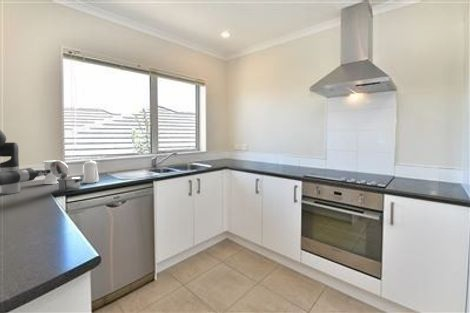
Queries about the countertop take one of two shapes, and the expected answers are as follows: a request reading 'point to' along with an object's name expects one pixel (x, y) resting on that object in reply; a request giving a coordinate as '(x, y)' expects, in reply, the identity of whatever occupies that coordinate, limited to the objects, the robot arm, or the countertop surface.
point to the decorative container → (50, 176)
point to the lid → (59, 169)
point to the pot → (69, 183)
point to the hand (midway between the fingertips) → (49, 171)
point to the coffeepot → (90, 172)
